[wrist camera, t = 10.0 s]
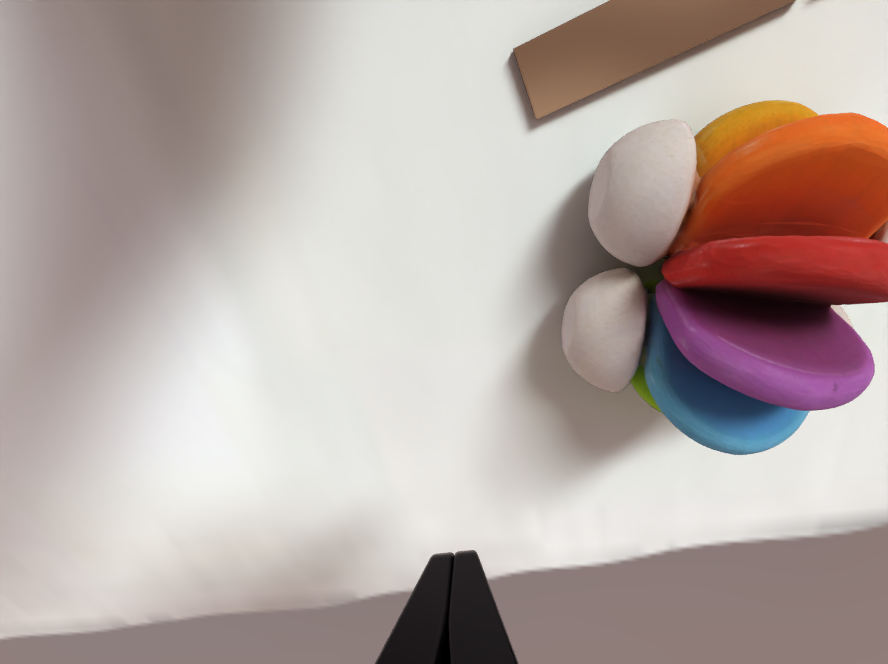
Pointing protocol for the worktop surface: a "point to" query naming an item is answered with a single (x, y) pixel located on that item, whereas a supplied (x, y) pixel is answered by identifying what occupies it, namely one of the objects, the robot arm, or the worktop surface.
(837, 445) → the worktop surface
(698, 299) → the multicolored white-lobed toy
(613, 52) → the brown segmented strip
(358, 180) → the worktop surface
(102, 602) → the worktop surface
